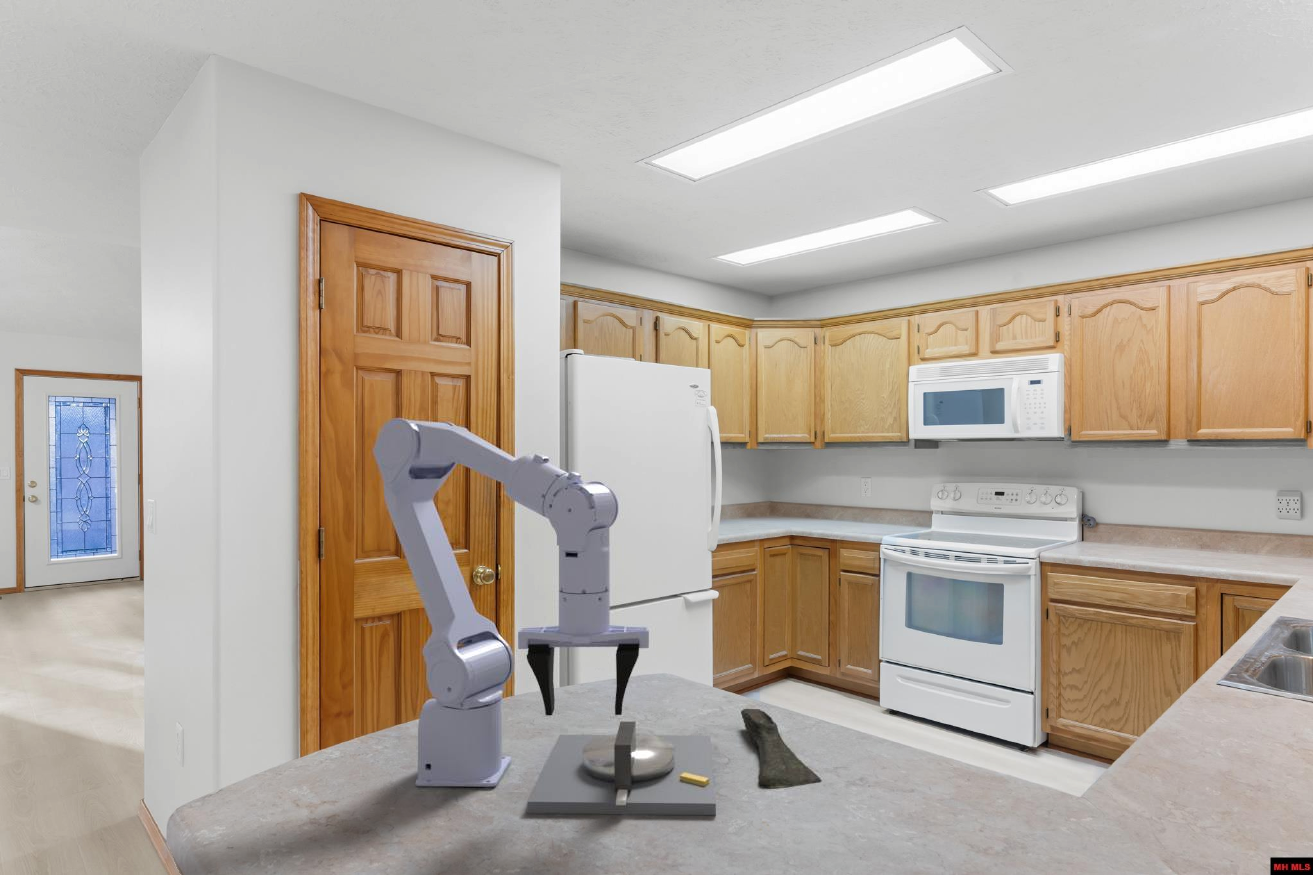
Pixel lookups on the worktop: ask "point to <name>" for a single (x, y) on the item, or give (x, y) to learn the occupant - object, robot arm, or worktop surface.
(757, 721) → the tool
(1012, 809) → the worktop surface
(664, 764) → the dial
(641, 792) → the board
